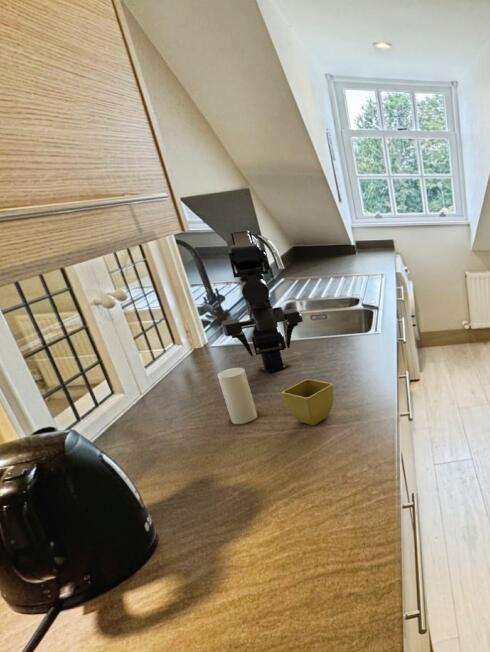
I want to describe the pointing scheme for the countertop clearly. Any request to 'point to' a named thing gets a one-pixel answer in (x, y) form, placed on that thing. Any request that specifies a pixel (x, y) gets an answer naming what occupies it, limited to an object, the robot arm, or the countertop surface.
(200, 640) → the countertop surface
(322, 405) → the flower pot
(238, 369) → the tall white cylinder
